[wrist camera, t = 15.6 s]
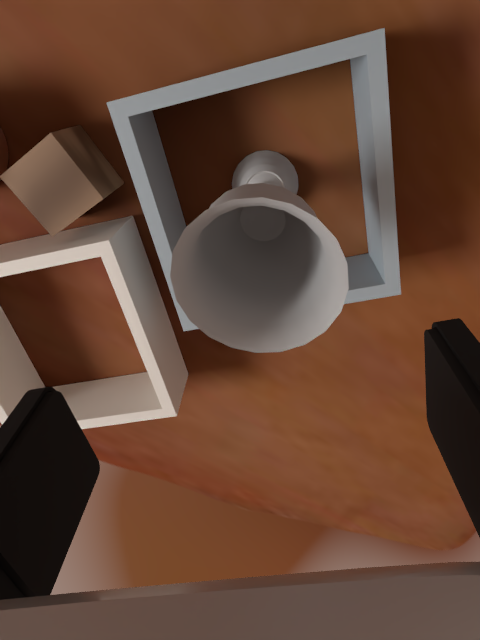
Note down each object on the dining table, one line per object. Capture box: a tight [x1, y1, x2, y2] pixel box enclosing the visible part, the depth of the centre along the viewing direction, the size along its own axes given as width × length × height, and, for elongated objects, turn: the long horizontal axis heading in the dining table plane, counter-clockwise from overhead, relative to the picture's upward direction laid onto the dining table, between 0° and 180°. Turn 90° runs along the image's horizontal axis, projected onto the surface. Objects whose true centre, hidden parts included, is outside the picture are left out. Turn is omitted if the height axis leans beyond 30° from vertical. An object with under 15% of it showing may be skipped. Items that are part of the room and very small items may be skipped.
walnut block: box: [0, 125, 124, 237], centre depth 32 cm, size 5×5×5 cm
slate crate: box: [107, 28, 401, 331], centre depth 31 cm, size 16×16×6 cm
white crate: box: [0, 216, 188, 429], centre depth 38 cm, size 16×16×6 cm
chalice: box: [170, 150, 349, 353], centre depth 26 cm, size 7×7×18 cm
